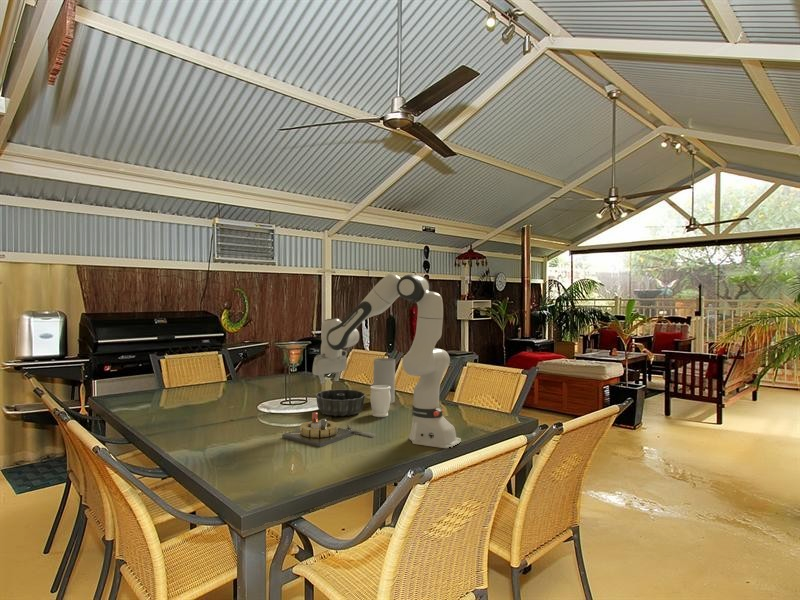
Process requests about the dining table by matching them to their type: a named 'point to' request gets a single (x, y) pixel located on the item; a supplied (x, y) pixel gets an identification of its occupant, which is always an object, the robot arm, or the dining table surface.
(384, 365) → the cylinder vase
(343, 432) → the cap plate
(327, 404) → the bundt pan
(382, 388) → the jar
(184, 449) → the dining table surface
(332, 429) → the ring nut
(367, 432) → the spanner
